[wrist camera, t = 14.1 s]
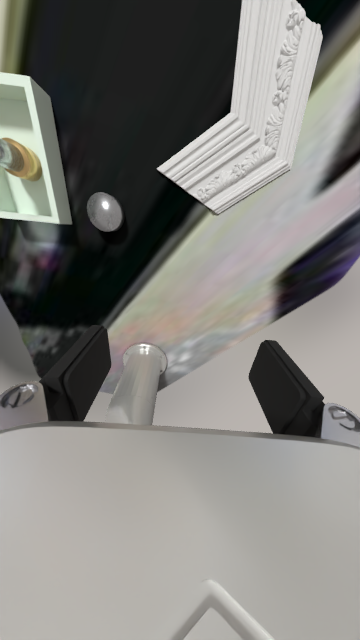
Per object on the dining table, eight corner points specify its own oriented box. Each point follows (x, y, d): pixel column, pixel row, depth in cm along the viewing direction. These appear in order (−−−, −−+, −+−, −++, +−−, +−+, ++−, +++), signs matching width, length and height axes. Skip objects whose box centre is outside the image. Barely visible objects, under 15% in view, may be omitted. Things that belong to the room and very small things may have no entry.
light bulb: (38, 148, 28) (-19, 115, 20) (45, 183, 30) (-4, 166, 22) (9, 144, 28) (-60, 110, 20) (18, 179, 30) (-41, 161, 22)
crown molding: (250, -65, 19) (358, 73, 24) (246, -50, 20) (350, 80, 25) (156, 167, 29) (246, 234, 34) (157, 170, 30) (244, 234, 35)
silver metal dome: (125, 232, 35) (121, 233, 32) (95, 229, 34) (89, 229, 32) (124, 196, 32) (119, 194, 30) (91, 193, 32) (84, 190, 29)
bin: (72, 224, 34) (59, 223, 30) (15, 218, 34) (-5, 217, 30) (50, 97, 26) (29, 76, 22) (-25, 87, 26) (-58, 64, 22)
